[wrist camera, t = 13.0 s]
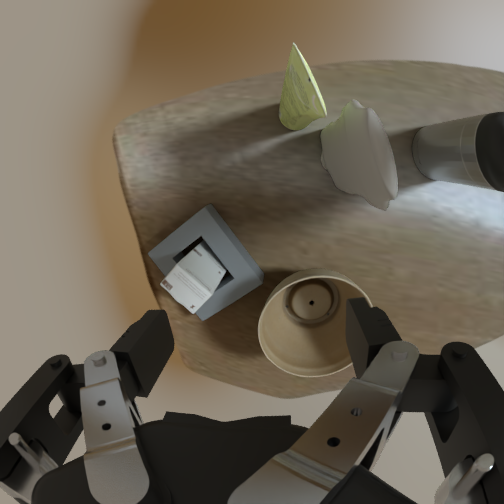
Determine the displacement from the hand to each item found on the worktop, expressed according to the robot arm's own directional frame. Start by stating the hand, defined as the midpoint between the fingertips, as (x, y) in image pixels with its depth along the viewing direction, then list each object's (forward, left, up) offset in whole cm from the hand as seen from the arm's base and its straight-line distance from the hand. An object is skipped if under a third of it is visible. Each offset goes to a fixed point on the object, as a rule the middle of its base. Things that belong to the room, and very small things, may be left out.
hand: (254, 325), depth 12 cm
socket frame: (+11, +7, -33) cm, 35 cm away
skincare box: (+11, +7, -33) cm, 36 cm away
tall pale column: (-10, -7, -33) cm, 35 cm away
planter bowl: (-5, +15, -33) cm, 37 cm away
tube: (-5, -14, -33) cm, 36 cm away
